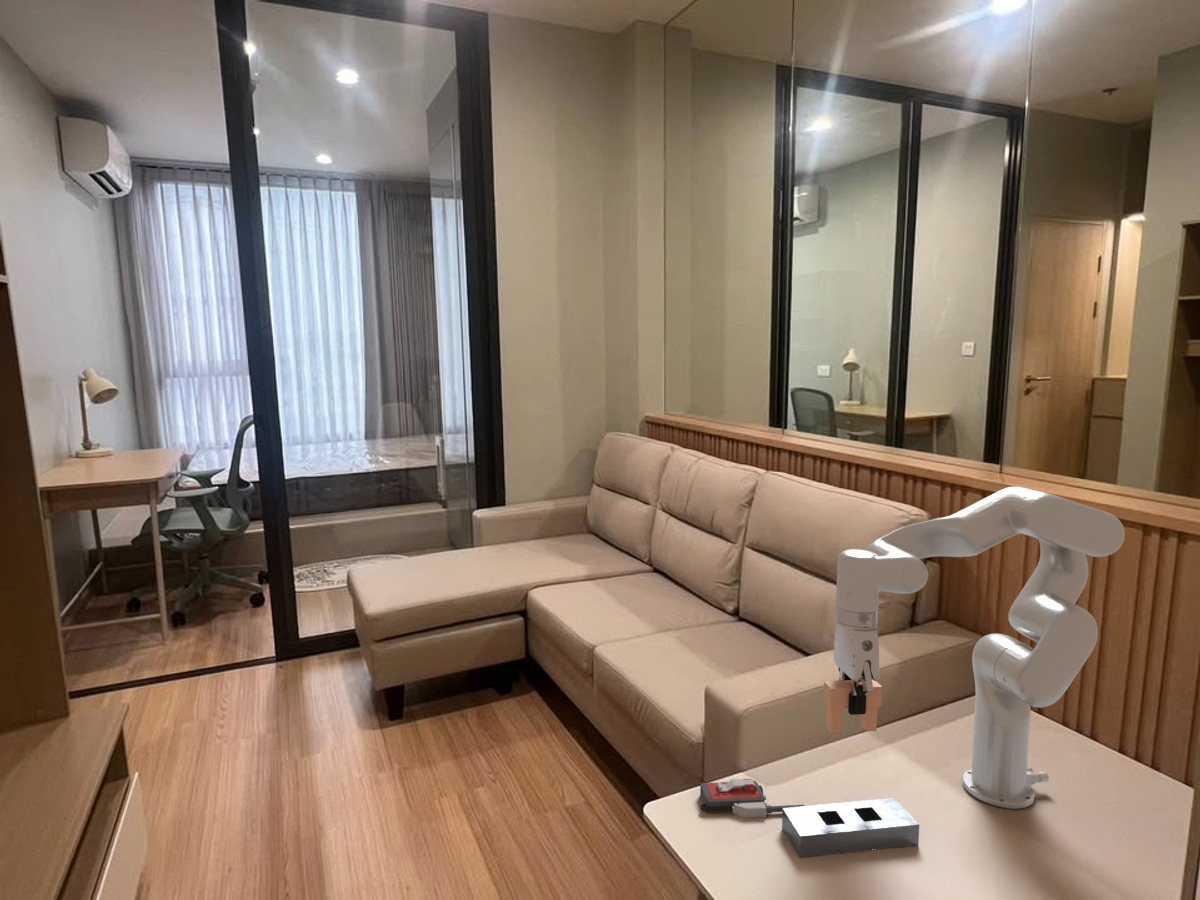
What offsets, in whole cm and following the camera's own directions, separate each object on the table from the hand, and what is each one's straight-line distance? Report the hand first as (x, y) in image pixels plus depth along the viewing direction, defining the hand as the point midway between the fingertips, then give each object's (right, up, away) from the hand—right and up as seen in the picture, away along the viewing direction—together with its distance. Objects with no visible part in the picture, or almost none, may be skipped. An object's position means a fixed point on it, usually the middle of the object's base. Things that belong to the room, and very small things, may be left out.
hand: (852, 707), depth 137 cm
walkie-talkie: (-19, -20, +2) cm, 28 cm away
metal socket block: (-3, -20, -8) cm, 22 cm away
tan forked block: (0, -4, 0) cm, 4 cm away
